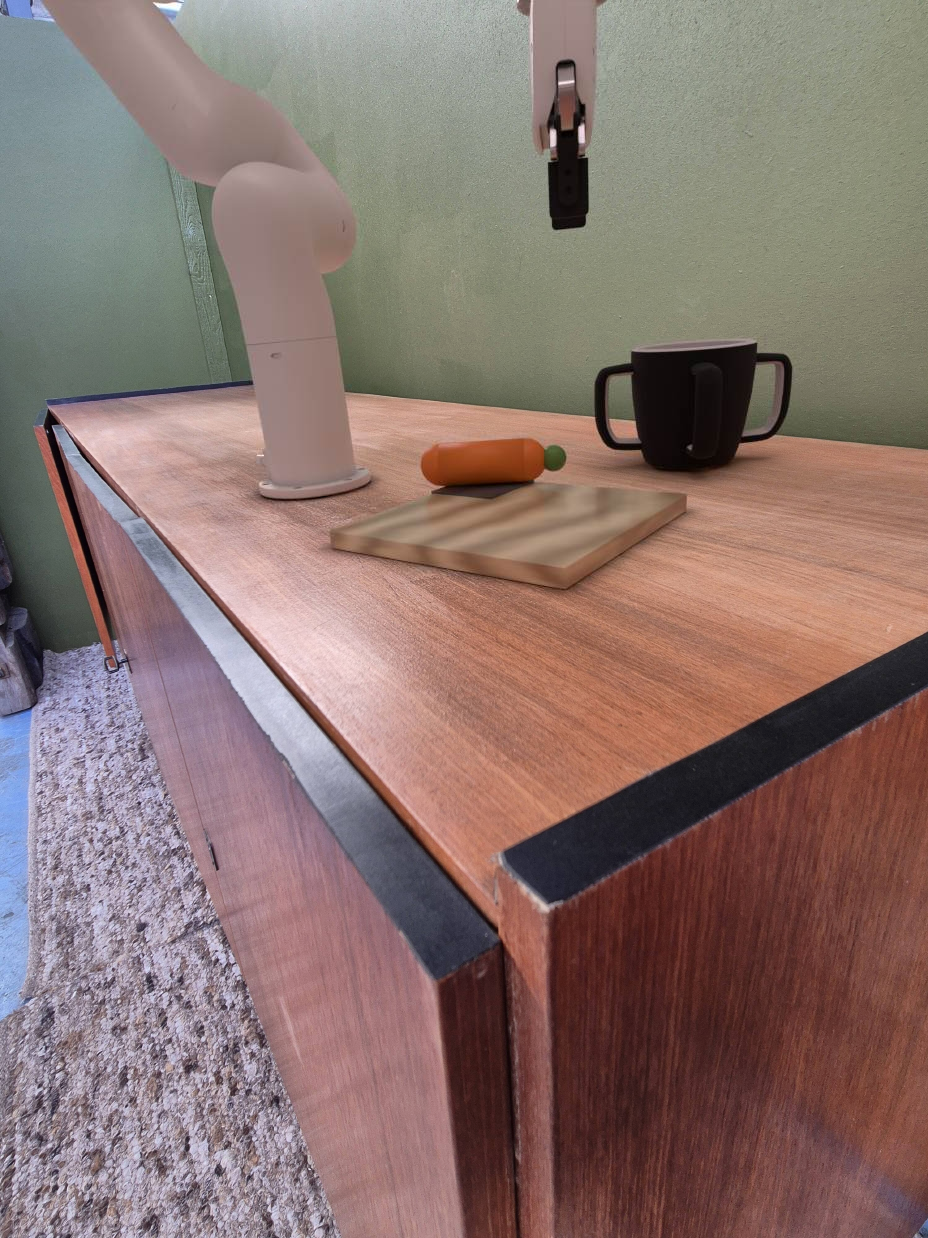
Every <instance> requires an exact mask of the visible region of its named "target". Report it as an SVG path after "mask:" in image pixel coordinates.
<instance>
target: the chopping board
mask: <svg viewBox="0 0 928 1238" xmlns="http://www.w3.org/2000/svg"><path fill="white" fill-rule="evenodd" d="M430 492H431V493H429V494H426V495H424V496H421V497H418V498H416V499H415V498H414V499H413V500H410V501H407V502H404V503H402V504H399V505H397V506H393V507H390V508H388V509H385V510H383V511H379V512H377V513H374V514H372V515H369V516H366V517H363V518H361V519H358V520H355V521H353V522H349V523H347V524H345V525H341V526H338V527H336V528H333V529H331V530H329V531H328V532H329V533H328V534H329V538H330V543H331V545H330V546H331V549H333V550H334V549H335V550H341V551H346V552H351V553H356V554H357V553H358V554H363V555H368V556H374V557H380V558H386V559H391V560H397V561H403V562H409V563H414V564H420V565H425V566H430V567H437V568H442V569H443V568H444V569H448V570H453V571H459V572H464V573H470V574H475V575H480V576H481V575H482V576H487V577H492V578H498V579H503V580H504V579H505V580H510V581H514V582H515V581H516V582H520V583H527V584H533V585H538V586H543V587H549V588H555V589H561V590H567V589H569V588H570V587H572V586H573V585H575V584H576V583H578V582H579V581H581V580H583V579H584V578H586V577H587V576H589V575H591V574H592V573H593V572H595V571H596V570H598V569H599V568H602V567H603V566H604V565H606V564H607V563H609V562H610V561H611V560H613V559H615V558H616V557H618V556H619V555H621V554H622V553H624V552H626V551H627V550H628V549H630V548H632V547H634V546H635V545H636V544H638V543H639V542H641V541H643V540H644V539H645V538H647V537H648V536H650V535H652V534H653V533H655V532H656V531H657V530H660V529H661V528H663V527H664V526H666V525H667V524H669V523H670V522H672V521H673V520H675V519H676V518H678V517H679V516H681V515H683V514H684V513H685V512H687V506H688V505H687V503H688V502H687V501H688V494H687V493H684V492H683V493H681V492H671V491H670V492H668V491H655V490H645V489H644V490H642V489H630V488H618V487H617V488H616V487H604V486H591V485H581V484H580V485H578V484H566V483H554V482H541V481H535V479H534V480H532V481H527V482H510V483H492V484H474V485H455V486H441V487H439V488H436V489H433V490H431V491H430Z"/></svg>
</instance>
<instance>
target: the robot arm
mask: <svg viewBox="0 0 928 1238" xmlns="http://www.w3.org/2000/svg"><path fill="white" fill-rule="evenodd" d="M178 1H179V0H40V2H41V4H42V5H43V6H44V8H45V9H46V11H47V12H48V15H50V17H51V18H52V19H53V21H54V22H55V23H56V25H57V26H58V27H59V29H60V30H61V31H62V33H63V34H64V35H65V36H66V37H67V39H68V40H69V41H70V43H72V45H73V47H75V48H76V49H77V51H79V53H80V54H81V55H82V57H84V59H85V60H86V61H87V62H88V63H89V65H90V66H91V67H92V68H93V69H94V71H95V72H96V73H97V74H98V75H99V77H100V78H101V80H102V81H103V82H104V83H105V84H106V86H108V88H109V89H110V91H111V92H112V93H113V95H114V96H115V97H116V100H118V101H119V102H120V104H121V105H122V106H123V108H125V110H126V111H127V113H128V114H129V115H130V116H131V118H132V119H133V120H134V121H135V122H136V123H137V125H138V126H139V128H141V130H142V131H143V133H144V134H145V135H146V136H147V137H148V139H150V141H151V143H152V144H153V145H154V146H155V148H156V149H157V150H158V151H159V152H160V154H161V156H163V157H164V159H165V160H166V161H167V162H168V164H170V166H172V168H173V169H174V170H175V171H176V172H177V173H179V175H181V176H182V177H184V178H186V179H188V180H190V181H192V182H194V183H197V184H201V185H205V186H210V187H213V188H215V190H214V192H213V196H212V199H211V200H212V201H211V223H212V228H213V229H212V230H213V233H214V238H215V240H216V241H215V242H216V244H217V248H218V250H219V252H220V255H221V258H222V261H223V264H224V266H225V269H226V272H227V274H228V278H229V281H230V284H231V287H232V290H233V291H232V292H233V295H234V297H235V301H236V306H237V310H238V315H239V320H240V324H241V329H242V334H243V338H244V345H245V348H246V352H247V359H248V363H249V369H250V374H251V380H252V385H253V391H254V395H255V400H256V405H257V411H258V415H259V420H260V421H259V422H260V427H261V431H262V436H263V441H264V447H265V448H262V449H261V450H262V454H256V455H255V456H254V459H253V462H254V464H255V465H256V466H257V467H265V471H266V476H267V477H265V478H263V479H262V480H260V482H259V483H258V490H259V494H260V495H261V496H263V497H266V498H269V499H278V500H279V499H281V500H294V499H295V500H297V499H309V498H317V497H318V498H319V497H325V496H332V495H336V494H341V493H345V492H349V491H352V490H356V489H358V488H361V487H363V486H366V485H367V484H368V483H369V482H371V479H372V475H371V471H370V469H369V467H368V468H367V467H365V466H362V465H356V460H355V455H354V454H355V453H354V445H353V440H352V439H353V438H352V432H351V426H350V420H349V411H348V404H347V398H346V391H345V384H344V377H343V370H342V362H341V357H340V349H339V343H338V342H339V341H338V336H337V331H336V330H337V329H336V324H335V316H334V312H333V307H332V304H331V299H330V295H329V293H328V289H327V287H326V284H325V281H324V278H323V276H322V275H324V274H329V273H332V272H335V271H336V270H338V269H340V268H341V267H343V266H344V265H345V264H346V263H347V262H348V260H349V259H350V258H351V256H352V254H353V251H354V250H355V246H356V242H357V233H358V231H357V222H356V217H355V213H354V209H353V207H352V204H351V203H350V200H349V199H348V197H347V195H346V193H345V192H344V191H343V189H342V188H341V186H340V185H339V184H338V182H337V181H336V180H335V178H334V177H333V176H332V174H331V173H330V172H329V170H327V168H326V167H325V165H324V164H323V163H322V161H320V159H319V158H318V157H317V155H316V154H315V153H314V151H313V150H312V149H311V147H310V146H309V145H308V144H307V143H306V141H305V140H304V139H303V137H302V136H301V134H300V133H299V132H298V131H297V130H296V128H295V127H294V126H293V125H292V123H291V122H290V121H289V120H288V119H287V118H286V116H285V115H284V114H283V113H282V112H281V111H280V110H279V109H278V108H277V107H276V106H275V105H274V104H273V103H272V102H270V101H269V100H268V99H267V98H265V97H264V96H262V95H261V94H259V93H257V92H255V91H253V90H252V89H250V88H247V87H244V86H242V85H240V84H238V83H235V82H233V81H231V80H229V79H227V78H225V77H224V76H222V75H220V74H218V73H216V72H215V71H213V70H212V69H211V68H210V67H209V66H208V65H207V64H205V63H204V62H203V60H202V59H201V58H200V57H199V56H198V55H197V54H196V53H195V51H194V50H193V48H191V46H189V44H188V43H187V42H186V40H185V39H184V38H183V37H182V36H181V34H180V33H179V32H178V30H177V29H176V27H175V26H174V25H173V23H172V22H171V20H170V19H169V18H168V16H166V15H165V14H164V12H163V11H162V10H161V9H160V8H159V7H158V6H157V5H156V4H160V5H161V4H162V5H168V4H172V3H176V2H178ZM606 2H607V0H516V9H517V11H518V12H519V13H520V14H522V15H523V16H526V17H529V66H530V67H529V69H530V70H529V71H530V73H529V74H530V93H531V95H530V96H531V97H530V98H531V121H532V122H531V125H532V126H531V127H532V131H531V132H532V140H533V147H534V150H535V152H536V153H537V154H538V155H539V156H544V150H549V151H550V152H549V154H550V161H547V180H548V181H547V182H548V183H547V185H548V213H549V214H548V215H549V217H550V218H551V228H552V230H554V231H562V230H564V231H565V230H571V229H572V230H573V229H580V228H584V227H585V226H586V225H587V215H588V214H589V211H590V190H589V189H590V188H589V187H590V185H589V156H588V157H586V149H587V148H589V146H590V144H591V141H592V133H593V127H594V119H595V118H594V117H595V107H596V93H597V92H596V88H597V43H598V42H597V41H598V40H597V37H598V36H597V34H598V32H597V31H598V30H597V27H598V26H597V24H598V22H597V21H598V20H597V15H598V14H597V8H598V7H600V6H601V5H603V4H604V3H606Z"/></svg>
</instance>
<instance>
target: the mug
mask: <svg viewBox="0 0 928 1238" xmlns="http://www.w3.org/2000/svg"><path fill="white" fill-rule="evenodd" d="M764 365H774V369H775V372H774V373H775V375H774V376H775V377H774V378H775V379H774V392H773V399H772V405H771V411H770V414H769V417H768V419H767V421H766V422H765V423H764V425H763V426H762V427H759V428H754V429H753V428H752V429H745V426H746V422H747V417H748V413H749V408H750V404H751V399H752V394H753V388H754V382H755V374H756V368H757V366H764ZM623 376H624V377H625V376H630V381H631V382H630V383H631V397H632V398H631V399H632V405H633V413H634V422H635V428H636V433H637V437H617V436H616V435H615V433H614V431H613V429H612V427H611V421H610V406H609V398H610V397H609V394H610V393H609V390H610V381H611V379H612V378H613V377H623ZM792 384H793V364H792V362H791V359H790V357H789V355H786V354H785V353H781V352H780V353H779V352H758V341H757V340H756V339H752V338H714V339H713V338H711V339H698V340H696V339H695V340H683V341H673V342H672V341H671V342H662V343H654V344H647V345H641V346H636V347H634V348H633V349H631V350H630V362H626V363H620V364H616V365H610V366H605V367H602V368H601V369H600V370H599V372H598V373H597V375H596V378H595V380H594V386H593V387H594V388H593V389H594V390H593V393H594V397H593V400H594V402H593V405H594V406H593V407H594V408H593V409H594V421H595V427H596V430H597V433H598V434H599V438H600V439H601V440H602V443H603V444H604V445H605V446H606V447H607V448H609V449H611V450H614V451H622V452H623V451H624V452H625V451H627V452H628V451H630V452H631V451H640V452H641V455H642V457H643V460H644V462H645V463H646V464H648V465H649V466H652V467H655V468H659V469H660V468H661V469H665V470H672V471H673V470H675V471H692V470H693V471H694V470H705V469H710V468H715V467H719V466H723V465H726V464H728V463H730V462H731V461H732V460H733V459H734V458H735V456H736V454H737V452H738V449H739V446H740V444H750V443H757V442H763V441H767V440H769V439H770V438H773V437H774V436H775V435H776V434H777V433H778V432H779V431H780V429H781V427H782V426H783V424H784V421H785V420H786V418H787V414H788V413H789V407H790V402H791V401H790V400H791V395H792V394H791V393H792Z"/></svg>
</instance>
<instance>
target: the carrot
mask: <svg viewBox="0 0 928 1238" xmlns="http://www.w3.org/2000/svg"><path fill="white" fill-rule="evenodd" d="M566 463H567V453H566V451H565V450H564V449H563V447H561V446H559V445H556V444H552V445H548V446H546V447H545V448H544V446H543V445H542V444H541V443H540V442H539V441H538V440H536V439H533V438H530V437H519V438H518V437H517V438H503V439H489V440H486V439H485V440H472V441H471V440H470V441H457V442H456V441H455V442H440V443H435V444H433V445H431V446H430V447H428V448H427V449H426V450H425V451H424V452H423V454H422V456H421V460H420V470H421V473H422V476H423V477H424V479H425V480H426V481H428V483H430V484H431V485H434V486H437V487H444V486H455V485H474V484H492V483H510V482H527V481H532V480H534V481H535V480H536V479H538V478H539V477H541V475H542V474H543V473H544V471H545V470H546V471H548V472H558V471H560V470H561V469H562V468H563V467H564V466H565V465H566Z"/></svg>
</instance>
